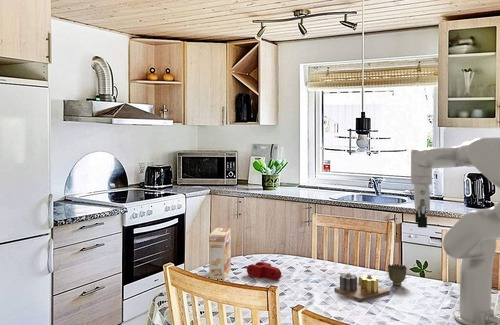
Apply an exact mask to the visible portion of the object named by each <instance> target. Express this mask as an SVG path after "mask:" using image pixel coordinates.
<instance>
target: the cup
mask: <svg viewBox="0 0 500 325" xmlns="http://www.w3.org/2000/svg"><path fill="white" fill-rule="evenodd" d="M407 269H408V268H407V266H405V264H404V265H402V264H399V263H397V264H396V263H395V264H393V263H392V264H388V265H387V271H388V272H387V273H388V277H389V280H390V281H391V284H392V285H393V286H394V287H401V286H402V284H403V282H404V281H405V279H406V277H407V271H408V270H407Z"/></svg>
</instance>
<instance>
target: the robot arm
mask: <svg viewBox="0 0 500 325" xmlns="http://www.w3.org/2000/svg"><path fill="white" fill-rule="evenodd" d="M458 167H459V168H460V167H461V168H462V167H468V168H473V167H474V168H476V169H477V171H478V172H480V173H481V174H482V175H483V176H484V177H485V178H486V179H487V180H488V181H489V182H490V183H492V184H493V185H494V186H495V187H497V188H498V189H500V137H496V136H495V137H479V138H478V137H477V138H475V139H473V140H471V141H470V140H469V141H465V142H463V143H462V144H461V145H457V146H448V147H445V146H444V147H442V146H441V147H440V146H439V147H414V148H412V149H411V151H410V184H411V185H413V201H414V208H415V214H414V216H415V217H414V218H415V223H416V224H417V227H418V228H422V229H423V228H424V229H425V228H428V216H427V215H428V214H427V212H430V210H431V193H430V185H431V186H432V185H433V169H443V168H444V169H446V168H447V169H448V168H449V169H451V168H458ZM497 239H500V201H498V202H497V203H496V204H495V205H493V206H492V207H487V208H480V209H474V210H470V211H468V212H467V213H466V214H464V215H463V216H462V217H461V218H460V219H459V220H458V221H457V222H456V223H454V224H453V226H452V227H451V228H450V229H449V230H447V232H446V233H445V234H444V236H443V240H442V247H443V251H444V252H445V254H447V256H449V257H450V258H453V259H455V260H456V259H457V260H461V259H462V260H461V264H460V274H459V275H460V276H459V277H460V278H459V304H458V305H459V309H458V310H457V311H455V312H454V313H453V317H454V319H455V320H456V321H457V322H458V323H460V324H463V325H500V316H498V315H496V314H495V309H492V284H493V282H492V281H493V280H492V279H493V278H492V277H493V265H494V259H495V254H496V250H497Z"/></svg>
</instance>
